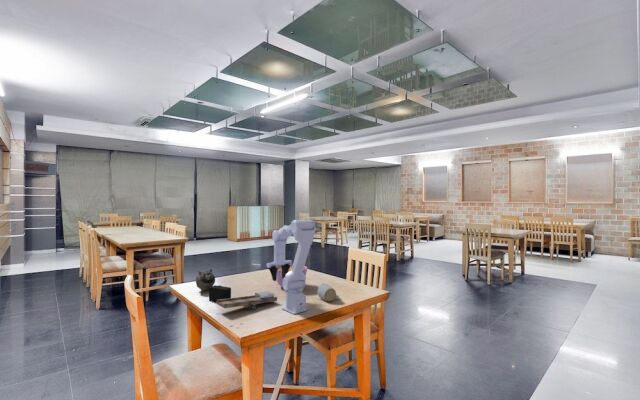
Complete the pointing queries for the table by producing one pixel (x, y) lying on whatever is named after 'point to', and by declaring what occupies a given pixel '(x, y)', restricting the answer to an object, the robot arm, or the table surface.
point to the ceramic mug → (327, 293)
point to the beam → (243, 301)
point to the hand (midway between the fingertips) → (279, 279)
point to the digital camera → (219, 293)
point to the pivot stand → (250, 307)
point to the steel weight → (264, 295)
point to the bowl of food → (279, 272)
